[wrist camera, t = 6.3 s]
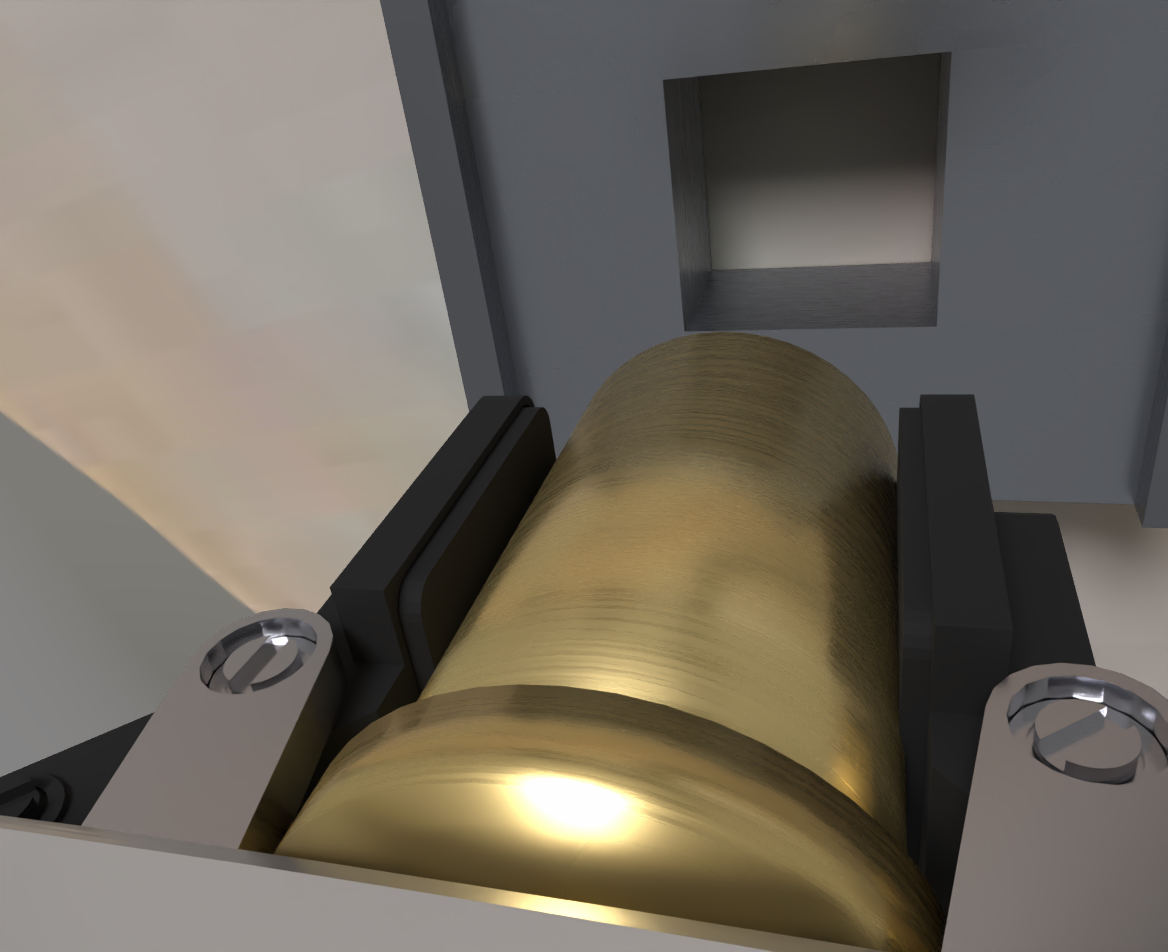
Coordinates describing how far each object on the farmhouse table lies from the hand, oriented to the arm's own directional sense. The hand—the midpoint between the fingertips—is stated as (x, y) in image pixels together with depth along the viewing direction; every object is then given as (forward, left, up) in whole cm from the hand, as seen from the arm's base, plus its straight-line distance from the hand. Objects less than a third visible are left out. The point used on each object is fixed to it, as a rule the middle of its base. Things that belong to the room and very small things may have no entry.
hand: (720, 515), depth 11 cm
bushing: (0, 0, -1) cm, 1 cm away
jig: (0, 0, -15) cm, 15 cm away
